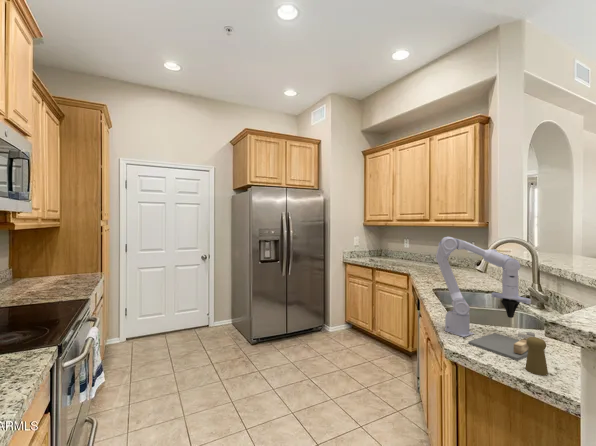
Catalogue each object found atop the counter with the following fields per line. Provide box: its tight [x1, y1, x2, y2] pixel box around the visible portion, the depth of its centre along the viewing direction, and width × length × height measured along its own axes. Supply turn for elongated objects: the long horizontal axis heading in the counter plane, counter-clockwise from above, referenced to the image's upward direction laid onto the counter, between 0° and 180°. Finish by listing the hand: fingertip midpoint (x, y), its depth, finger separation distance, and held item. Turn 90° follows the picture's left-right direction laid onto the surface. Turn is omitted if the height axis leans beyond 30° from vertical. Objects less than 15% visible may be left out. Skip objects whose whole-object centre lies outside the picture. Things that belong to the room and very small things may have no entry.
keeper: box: [517, 332, 534, 339], centre depth 117 cm, size 5×2×5 cm, turn 30°
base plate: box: [467, 331, 536, 362], centre depth 121 cm, size 18×20×6 cm
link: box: [514, 336, 538, 354], centre depth 116 cm, size 16×4×3 cm, turn 125°
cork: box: [525, 336, 549, 376], centre depth 101 cm, size 6×6×11 cm
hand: (510, 317), depth 129 cm, fingers closed
